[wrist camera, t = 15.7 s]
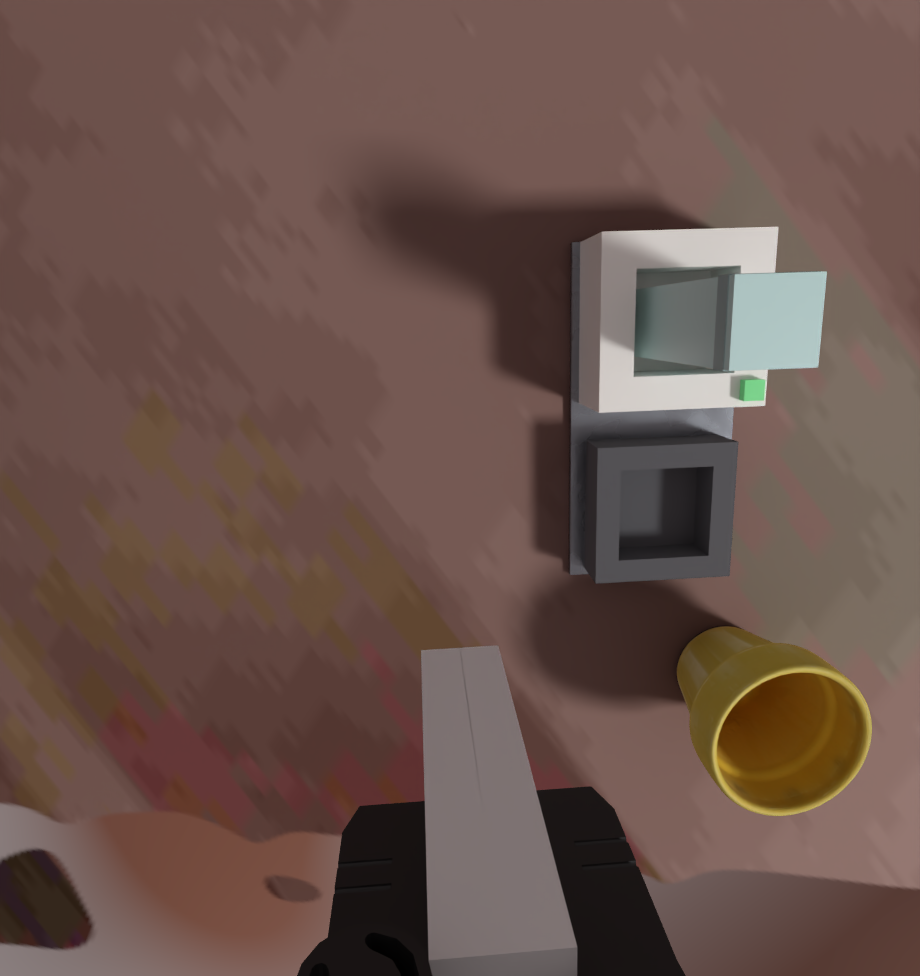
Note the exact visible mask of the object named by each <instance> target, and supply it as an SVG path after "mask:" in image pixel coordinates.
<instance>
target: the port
mask: <svg viewBox="0 0 920 976" xmlns="http://www.w3.org/2000/svg"><path fill="white" fill-rule="evenodd" d="M777 238H778V227H754V228H716V229H678V230H641V231H603V232H600V233H598V234H596V235H594V236H592V237H590V238H588V239H586V240H584V241H581V242H580V322H579V403H580V404H582V405H584V406H586V407H588V408H590V409H592V410H594V411H596V412H598V413H606V412H630V411H653V410H677V409H701V408H725V407H748V406H765V399H766V385H767V372H768V369H767V370H741V371H718V370H713V368H707V367H700V366H694V365H687V364H681V363H674V362H667V361H661V360H654V359H647V358H641V357H634V344H635V308H636V289H642V288H648V287H655V286H662V285H668V284H675V283H681V282H688V281H695V280H701V279H708V278H714V277H718V276H719V275H725V274H745V273H775V265H776V252H777Z"/></svg>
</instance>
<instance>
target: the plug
mask: <svg viewBox="0 0 920 976" xmlns="http://www.w3.org/2000/svg"><path fill="white" fill-rule="evenodd" d="M826 276H827V272H821V271H810V272H778V273H745V274H725V275H719V276H718V277H714V278H708V279H701V280H695V281H688V282H681V283H675V284H668V285H662V286H655V287H648V288H642V289H636V308H635V344H634V357H641V358H647V359H654V360H661V361H667V362H674V363H681V364H687V365H694V366H700V367H707V368H713V370H718V371H741V370H767V369H792V368H814V367H818V363H819V352H820V341H821V330H822V320H823V309H824V298H825V287H826Z"/></svg>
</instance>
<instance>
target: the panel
mask: <svg viewBox="0 0 920 976" xmlns="http://www.w3.org/2000/svg"><path fill="white" fill-rule="evenodd" d="M579 322H580V242H572V243H571V299H570V468H569V574H570V575H579V574H589V573H588V572H587V571H586V569H585V568H584V554H585V469H586V440H602V439H625V438H647V437H670V436H692V435H715V434H718V435H721V436H723V437H726V438H729V439H732V426H733V411H734V407H725V408H701V409H677V410H653V411H630V412H606V413H598V412H596V411H594V410H592V409H590V408H588V407H586V406H584V405H582V404H580V403H579Z"/></svg>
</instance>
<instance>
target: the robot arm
mask: <svg viewBox="0 0 920 976" xmlns="http://www.w3.org/2000/svg"><path fill="white" fill-rule="evenodd" d="M421 663H422V705H423V746H424V788H425V801H421V802H408V803H394V804H381V805H368V806H360V807H359V808H358V810H357V811H356V813H355V814H354V816H353V817H352V819H351V820H350V822H349V823H348V825H347V826H346V828H345V829H344V831H343V832H342V839H341V846H340V854H339V861H338V869H337V876H336V882H335V894H334V897H333V905H332V911H331V918H330V926H329V933H328V938H326V939H325V940H323V941H322V942H320V943H319V944H318V945H317V946H316V948H315V949H314V950H313V951H312V952H311V953H310V955H309V956H308V957H307V958H306V959H305V960H304V962H303V963H302V964H301V967H300V970H299V973H298V975H297V976H685V974H684V972H683V970H682V968H681V967H680V965H679V963H678V961H677V959H676V957H675V954H674V952H673V950H672V947H671V945H670V942H669V940H668V938H667V935H666V933H665V930H664V928H663V926H662V923H661V921H660V918H659V916H658V913H657V911H656V909H655V906H654V904H653V901H652V899H651V897H650V894H649V892H648V889H647V887H646V884H645V882H644V880H643V877H642V875H641V872H640V870H639V867H637V866H636V860H635V858H634V855H633V853H632V851H631V848H630V846H629V843H627V842H626V836H625V834H624V831H623V829H622V826H621V824H620V822H619V819H618V817H617V814H616V812H615V809H614V808H613V807H612V806H611V805H610V804H609V803H608V802H607V801H606V800H605V799H604V798H603V797H601V796H600V795H599V794H598V793H597V792H596V791H595V790H594V789H593V788H592V787H577V788H564V789H550V790H537V791H536V788H535V784H534V780H533V777H532V773H531V769H530V765H529V761H528V757H527V754H526V750H525V746H524V742H523V738H522V735H521V731H520V727H519V723H518V719H517V716H516V712H515V708H514V704H513V700H512V697H511V693H510V689H509V685H508V681H507V678H506V674H505V670H504V666H503V662H502V659H501V655H500V651H499V647H498V646H484V647H467V648H451V649H435V650H421Z"/></svg>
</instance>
